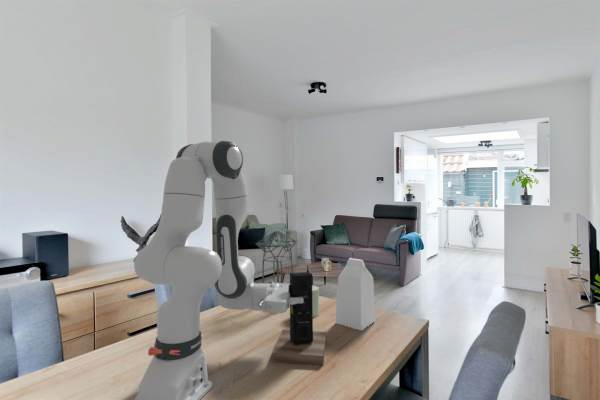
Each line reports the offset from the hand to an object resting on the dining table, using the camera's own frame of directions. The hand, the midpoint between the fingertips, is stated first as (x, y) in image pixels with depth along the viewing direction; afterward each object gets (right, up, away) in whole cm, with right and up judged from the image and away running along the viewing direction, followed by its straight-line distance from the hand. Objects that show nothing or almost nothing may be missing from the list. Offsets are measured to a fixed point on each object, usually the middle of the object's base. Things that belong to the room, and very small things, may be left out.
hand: (304, 297), depth 116 cm
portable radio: (-1, -15, 0) cm, 15 cm away
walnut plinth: (-1, -18, +1) cm, 18 cm away
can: (+2, -17, +35) cm, 39 cm away
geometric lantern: (-12, -17, +48) cm, 52 cm away
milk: (+21, -17, +25) cm, 37 cm away
